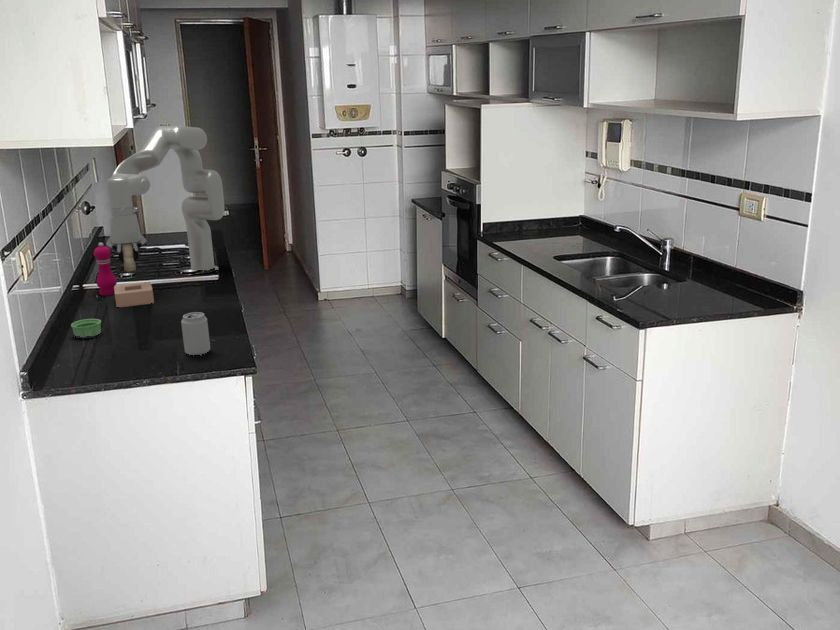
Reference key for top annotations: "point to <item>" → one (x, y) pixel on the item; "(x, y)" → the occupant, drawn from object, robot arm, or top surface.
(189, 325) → the can
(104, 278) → the pepper mill
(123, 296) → the socket
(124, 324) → the top surface
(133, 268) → the peg
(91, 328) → the ramekin
